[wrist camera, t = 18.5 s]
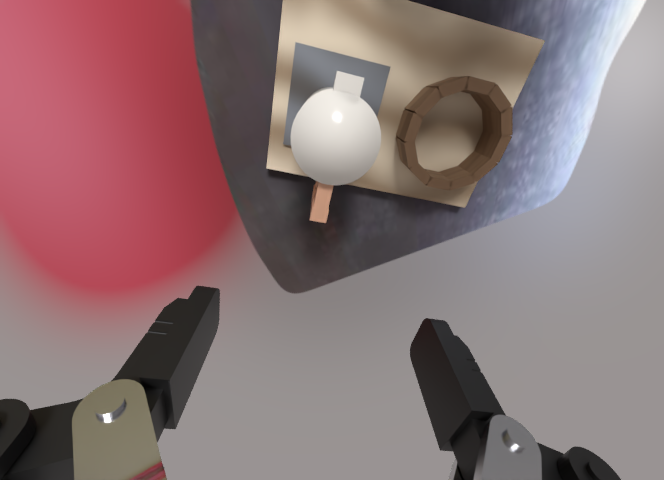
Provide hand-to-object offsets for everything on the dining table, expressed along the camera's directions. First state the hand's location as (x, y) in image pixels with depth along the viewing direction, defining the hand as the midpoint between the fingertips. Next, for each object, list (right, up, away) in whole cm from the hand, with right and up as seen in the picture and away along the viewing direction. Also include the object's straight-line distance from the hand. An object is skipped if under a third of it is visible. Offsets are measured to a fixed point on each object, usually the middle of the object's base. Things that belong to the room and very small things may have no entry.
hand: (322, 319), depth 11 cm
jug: (0, +14, +18) cm, 23 cm away
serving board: (+7, +17, +18) cm, 26 cm away
